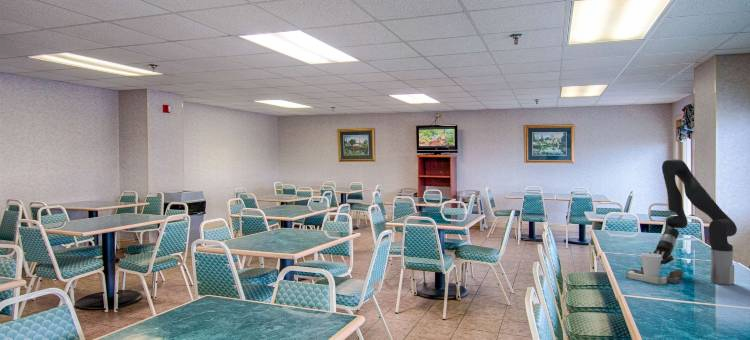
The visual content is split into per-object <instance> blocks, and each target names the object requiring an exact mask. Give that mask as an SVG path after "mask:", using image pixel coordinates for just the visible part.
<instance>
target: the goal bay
mask: <svg viewBox="0 0 750 340" xmlns="http://www.w3.org/2000/svg"><path fill="white" fill-rule="evenodd" d="M625 277H626V279H627V278H628V279H631V280H636V281H642V282H645V283H646V282H647V283H651V284H655V285H664V284H668V283H667V277H666V276H661V277H659V276H658V277H652V276H647V275H642V274H637V273H635V271H629V272H628V271H626V273H625Z"/></svg>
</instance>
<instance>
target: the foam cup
mask: <svg viewBox="0 0 750 340" xmlns="http://www.w3.org/2000/svg"><path fill="white" fill-rule="evenodd" d="M652 253H653V252H651V253H649V252H647V253H645V252H643V253H640V259H641V265H642V267H643V272H644V275H647V276H652V277H658V278H659V277H660V276H659V275H660V274H659V273H660V269H661V265H660V264H661V259H662V256H661V255H658V254H652Z"/></svg>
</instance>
